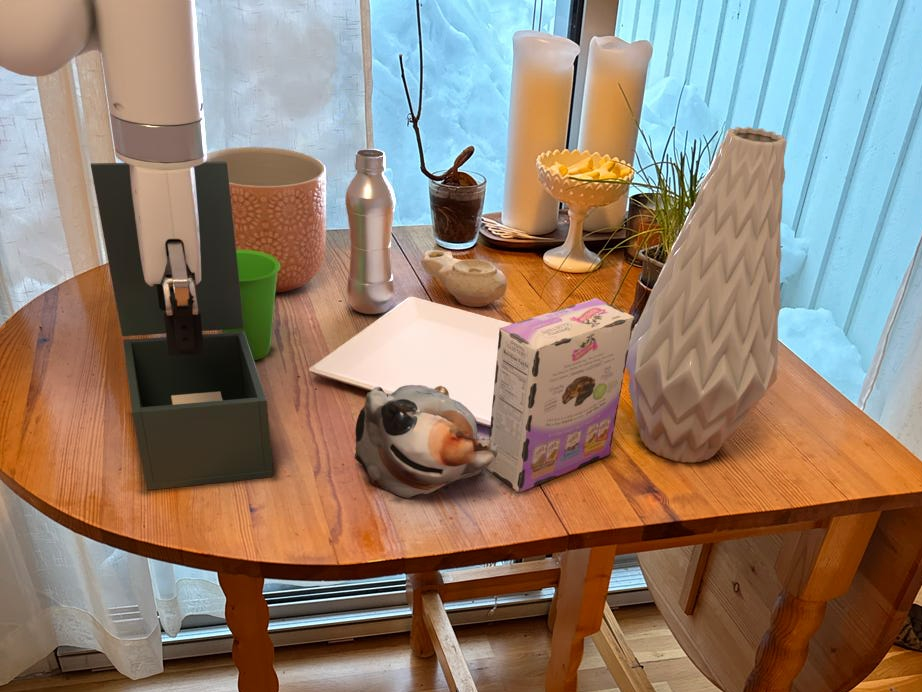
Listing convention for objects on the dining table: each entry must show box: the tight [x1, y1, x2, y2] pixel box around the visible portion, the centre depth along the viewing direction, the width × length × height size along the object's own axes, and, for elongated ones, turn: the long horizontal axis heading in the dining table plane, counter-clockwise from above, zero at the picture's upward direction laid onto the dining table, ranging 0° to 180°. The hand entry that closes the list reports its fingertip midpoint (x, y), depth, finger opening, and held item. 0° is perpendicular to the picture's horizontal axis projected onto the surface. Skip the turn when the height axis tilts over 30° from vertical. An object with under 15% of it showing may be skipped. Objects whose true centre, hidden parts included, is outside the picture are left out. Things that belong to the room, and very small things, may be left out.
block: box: [171, 392, 223, 405], centre depth 99 cm, size 5×5×5 cm
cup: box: [221, 250, 280, 361], centre depth 115 cm, size 9×9×11 cm
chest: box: [122, 332, 274, 491], centre depth 99 cm, size 16×13×9 cm
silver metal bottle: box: [344, 148, 396, 315], centre depth 124 cm, size 6×7×20 cm
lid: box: [90, 161, 244, 337], centre depth 98 cm, size 16×13×5 cm
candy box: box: [485, 297, 635, 493], centre depth 99 cm, size 14×6×16 cm, turn 130°
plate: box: [308, 296, 513, 428], centre depth 119 cm, size 26×26×2 cm
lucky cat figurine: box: [354, 385, 498, 499], centre depth 96 cm, size 15×12×14 cm
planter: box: [205, 146, 327, 294], centre depth 131 cm, size 17×17×15 cm
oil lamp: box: [421, 249, 508, 308], centre depth 135 cm, size 11×14×5 cm
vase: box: [625, 126, 787, 464], centre depth 99 cm, size 17×17×33 cm
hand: (181, 330), depth 92 cm, fingers open, 9 cm apart
